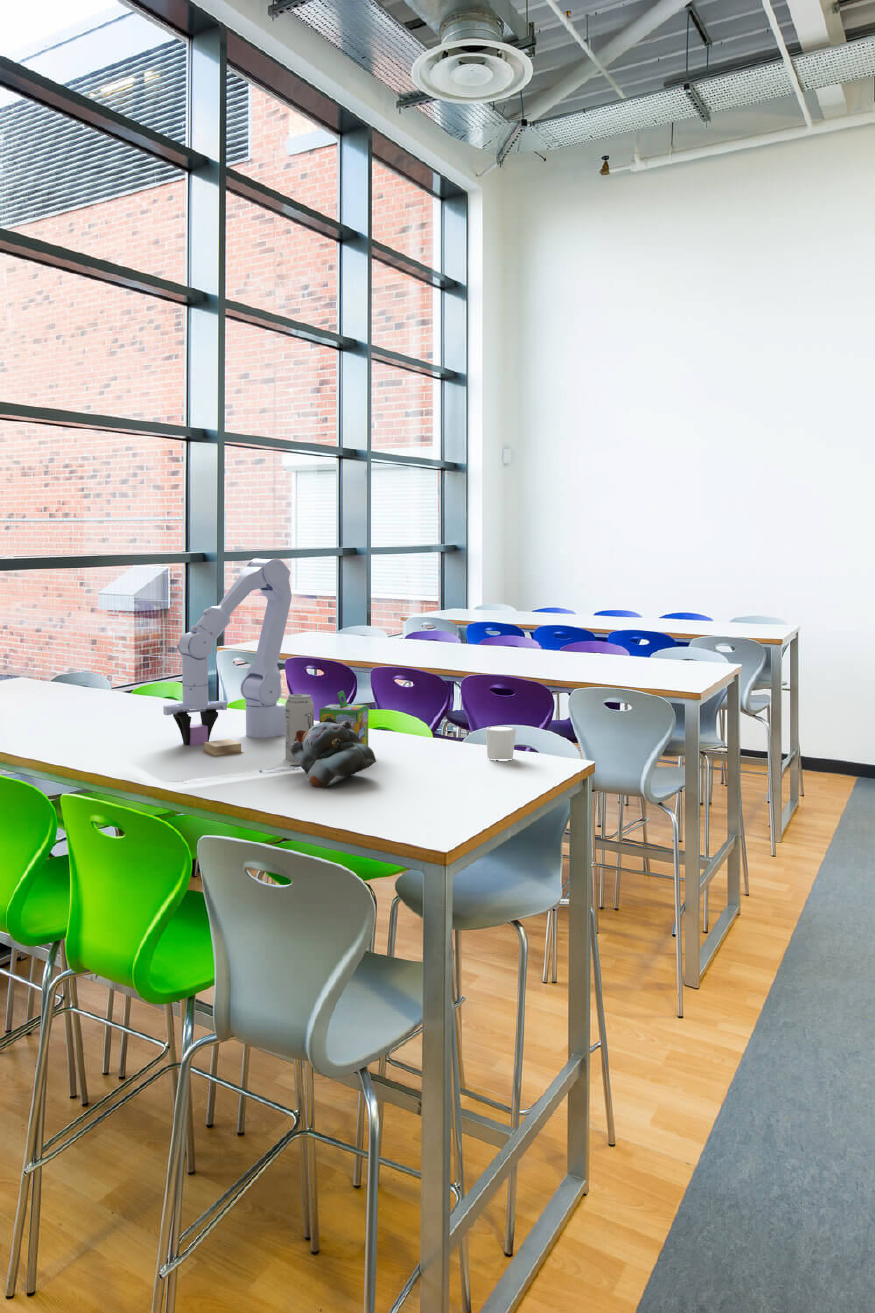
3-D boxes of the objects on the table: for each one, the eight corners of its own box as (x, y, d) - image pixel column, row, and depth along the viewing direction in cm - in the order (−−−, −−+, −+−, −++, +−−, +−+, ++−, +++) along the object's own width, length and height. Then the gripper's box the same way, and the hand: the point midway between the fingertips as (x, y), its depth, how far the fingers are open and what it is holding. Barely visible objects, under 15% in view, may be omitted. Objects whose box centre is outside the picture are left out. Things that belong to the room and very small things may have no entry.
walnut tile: (230, 755, 203) (230, 747, 203) (244, 761, 198) (243, 752, 198) (200, 759, 199) (200, 750, 199) (214, 765, 193) (214, 756, 193)
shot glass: (479, 759, 200) (480, 729, 200) (492, 754, 207) (493, 724, 206) (508, 763, 197) (508, 732, 197) (520, 757, 203) (520, 727, 203)
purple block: (200, 746, 210) (200, 723, 209) (207, 749, 207) (207, 726, 206) (184, 748, 207) (184, 725, 207) (191, 751, 204) (191, 727, 204)
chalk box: (358, 762, 196) (358, 695, 194) (318, 760, 198) (318, 693, 196) (369, 754, 205) (370, 690, 203) (331, 751, 207) (331, 688, 205)
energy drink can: (308, 768, 190) (308, 698, 188) (281, 766, 191) (281, 696, 189) (317, 762, 195) (317, 694, 194) (291, 760, 197) (291, 693, 195)
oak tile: (229, 747, 202) (229, 739, 202) (241, 752, 197) (241, 743, 197) (204, 751, 198) (204, 742, 198) (215, 755, 194) (215, 746, 194)
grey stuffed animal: (314, 791, 170) (287, 724, 172) (304, 801, 181) (279, 738, 183) (385, 763, 176) (357, 698, 178) (371, 774, 187) (345, 713, 189)
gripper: (217, 680, 213) (218, 737, 214) (158, 685, 204) (158, 743, 206) (230, 684, 207) (231, 741, 209) (169, 688, 199) (170, 748, 200)
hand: (196, 743), depth 207 cm, fingers closed on purple block, 4 cm apart
